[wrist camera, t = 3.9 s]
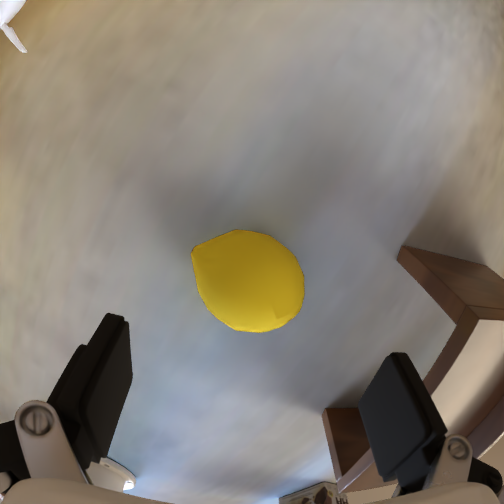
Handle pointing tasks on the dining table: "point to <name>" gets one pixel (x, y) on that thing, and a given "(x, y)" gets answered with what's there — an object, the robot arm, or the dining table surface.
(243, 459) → the dining table surface
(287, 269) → the lemon
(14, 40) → the serpentine dragon sculpture
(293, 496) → the coffee box
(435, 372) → the shelf
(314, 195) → the dining table surface
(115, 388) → the robot arm
